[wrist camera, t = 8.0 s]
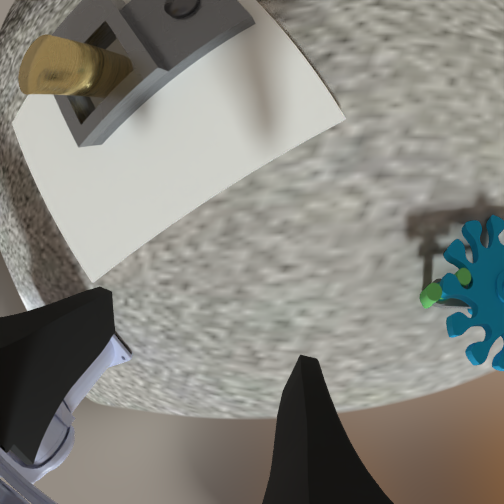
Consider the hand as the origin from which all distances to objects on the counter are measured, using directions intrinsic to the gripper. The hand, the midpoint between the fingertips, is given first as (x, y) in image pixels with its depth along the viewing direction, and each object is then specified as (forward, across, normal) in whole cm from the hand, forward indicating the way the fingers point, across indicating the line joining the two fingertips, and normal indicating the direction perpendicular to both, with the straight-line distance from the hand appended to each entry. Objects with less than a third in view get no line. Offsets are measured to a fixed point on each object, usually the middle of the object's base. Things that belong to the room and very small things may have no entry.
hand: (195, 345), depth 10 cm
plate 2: (+8, +9, -12) cm, 17 cm away
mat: (+9, +11, -8) cm, 16 cm away
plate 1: (+8, +12, -11) cm, 19 cm away
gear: (+10, -16, -4) cm, 19 cm away
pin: (+8, +11, -10) cm, 17 cm away
